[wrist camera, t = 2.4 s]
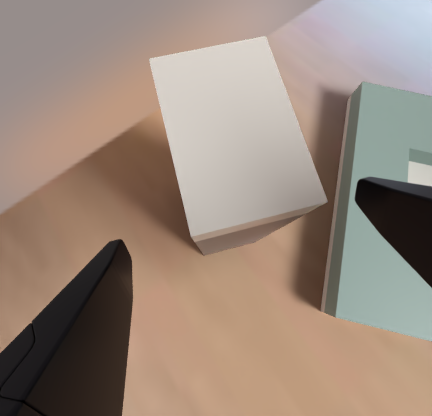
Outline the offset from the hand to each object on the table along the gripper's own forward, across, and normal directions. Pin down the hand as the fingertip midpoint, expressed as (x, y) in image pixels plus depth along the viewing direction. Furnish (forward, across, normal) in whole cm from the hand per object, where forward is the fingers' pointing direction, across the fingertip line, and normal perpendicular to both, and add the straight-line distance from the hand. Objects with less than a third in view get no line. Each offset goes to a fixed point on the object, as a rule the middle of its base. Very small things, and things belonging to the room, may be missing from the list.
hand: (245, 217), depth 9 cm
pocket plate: (+6, -16, +8) cm, 18 cm away
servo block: (+9, 0, +5) cm, 10 cm away
